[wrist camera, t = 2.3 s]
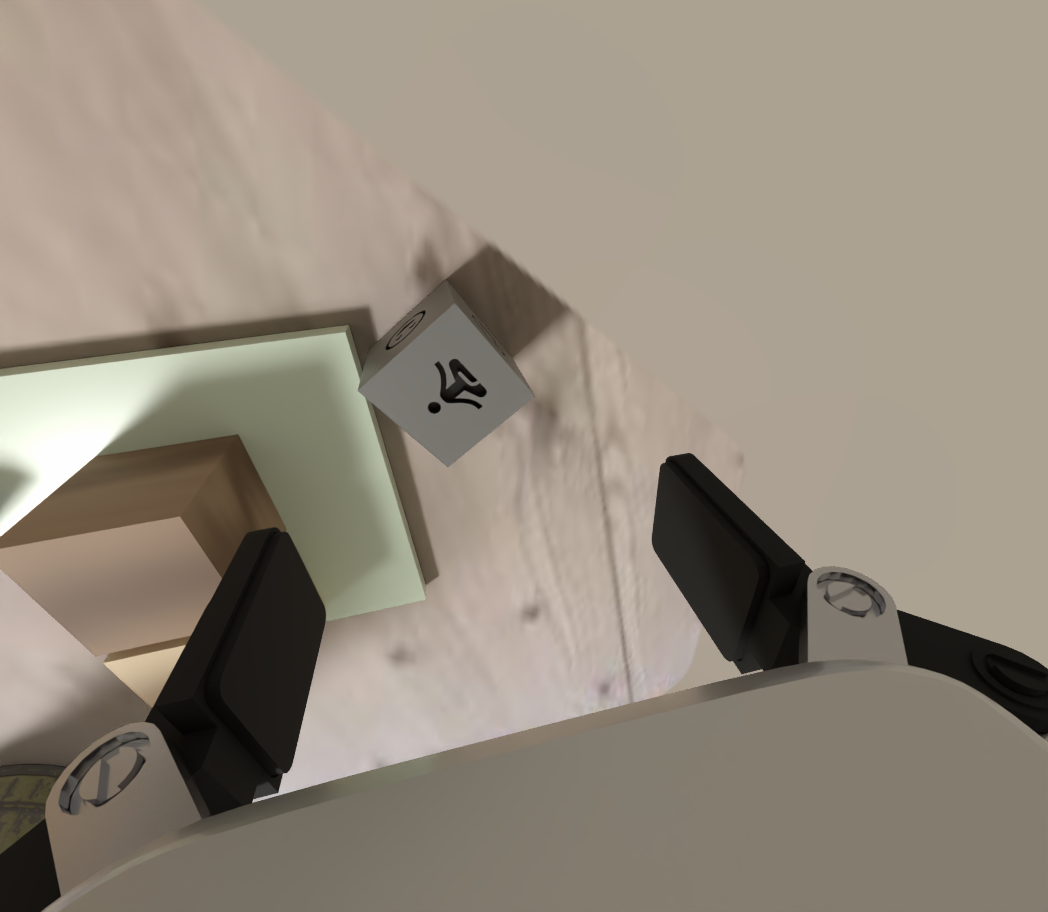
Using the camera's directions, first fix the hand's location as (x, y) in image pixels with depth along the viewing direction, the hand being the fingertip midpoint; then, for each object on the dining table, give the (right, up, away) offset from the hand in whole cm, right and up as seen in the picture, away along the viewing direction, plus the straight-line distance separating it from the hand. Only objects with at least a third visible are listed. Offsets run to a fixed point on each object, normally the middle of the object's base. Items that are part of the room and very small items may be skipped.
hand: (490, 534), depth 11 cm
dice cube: (-3, +7, +11) cm, 13 cm away
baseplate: (-15, -1, +12) cm, 20 cm away
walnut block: (-15, 0, +10) cm, 18 cm away
